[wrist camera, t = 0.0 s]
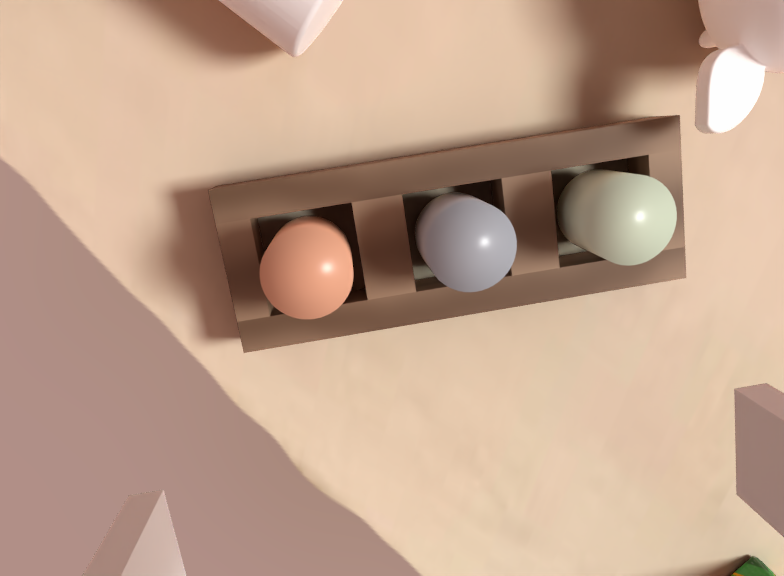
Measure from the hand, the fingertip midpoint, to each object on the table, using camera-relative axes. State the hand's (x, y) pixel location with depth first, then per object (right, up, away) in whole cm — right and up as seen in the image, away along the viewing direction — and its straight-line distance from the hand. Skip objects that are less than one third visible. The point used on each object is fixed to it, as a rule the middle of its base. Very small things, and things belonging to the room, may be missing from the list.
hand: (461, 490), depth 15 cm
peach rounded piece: (-7, +7, +25) cm, 27 cm away
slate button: (+2, +8, +25) cm, 27 cm away
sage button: (+11, +10, +26) cm, 30 cm away
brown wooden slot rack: (+2, +8, +27) cm, 28 cm away
